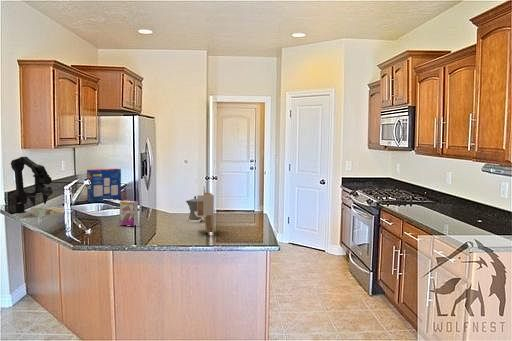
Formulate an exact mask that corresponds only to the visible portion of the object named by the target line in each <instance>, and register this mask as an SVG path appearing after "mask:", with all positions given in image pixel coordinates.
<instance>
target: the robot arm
mask: <svg viewBox="0 0 512 341" xmlns="http://www.w3.org/2000/svg"><path fill="white" fill-rule="evenodd" d="M10 166H11V169H12V171H13V172H14V180H15V192H14V194H13V195H14V196H13V199H12V201H11V205H13V207H14V211H12V213H15V214H22V213H23V214H24V213H26V212H27V210H25V205H27V202H28V199H29V200H30V202H31V205H32V207H36V199H37V196H38V195H42V200H43V204H44V205H46V204H47V201H48V199H49V197H50V196H52V195H53V189H52V187H51V186H48V187H46V185H50V184H51V183H52V181H53V179H52V177H51V176H50V174H48V171H47V170H46V168H45V166H44V165H42V164H37V163H36V162H34V161H33V160H32V159H30V158H29V157H28V156H20V157H19V158H15V159H12V160H11V162H10ZM25 166H26V167H28V168H29V169H30V170H31V172H32V173H33V175H32V178H33V177H34V184H33V185H32V186H33V187H34V190H33V191H25V189H24V188H25V187H24V176H23V170H24V168H25Z"/></svg>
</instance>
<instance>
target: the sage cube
mask: <svg viewBox="0 0 512 341" xmlns="http://www.w3.org/2000/svg"><path fill="white" fill-rule="evenodd" d="M45 209H46V208H42V209H34V214H33V216H34V217H38V218H40V217H45V216H46V214H45Z"/></svg>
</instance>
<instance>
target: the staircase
mask: <svg viewBox="0 0 512 341" xmlns="http://www.w3.org/2000/svg"><path fill="white" fill-rule="evenodd" d="M214 197H215V194H213V193H212V192H210V191H209V192H206V189H205V186H203V195H196V199H197V211H195V212H194V213H195V215H196V216H197V217H201V218H204V226H205V231H206V232H205V233H207V232H213V233H214V234H215V215H214V213H215V212H214V209H215V198H214Z"/></svg>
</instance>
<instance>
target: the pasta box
mask: <svg viewBox="0 0 512 341" xmlns="http://www.w3.org/2000/svg"><path fill="white" fill-rule="evenodd" d="M87 179H89V180H90V182H91V185H89V186H86V188H87V189H86V191H87V192H86V194H87V195H86V197H87V199H86V200H87V202H90V203H95V202H96V201H98V202H101V201H100V200H103V199H113V200H112V201H117V200H122V169H121V168H100V169H94V168H93V169H87V170H86V180H87ZM96 203H97V202H96Z"/></svg>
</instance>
